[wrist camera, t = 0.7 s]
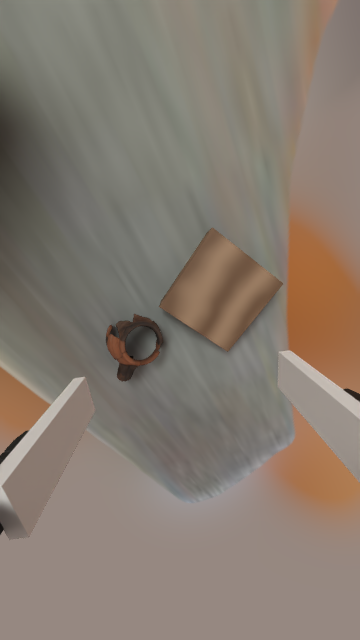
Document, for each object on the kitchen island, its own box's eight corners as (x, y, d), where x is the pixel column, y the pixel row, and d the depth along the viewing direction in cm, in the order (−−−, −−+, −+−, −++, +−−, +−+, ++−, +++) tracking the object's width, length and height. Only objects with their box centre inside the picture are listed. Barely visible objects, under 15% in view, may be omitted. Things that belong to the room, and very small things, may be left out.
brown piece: (106, 308, 35) (117, 312, 28) (153, 314, 40) (173, 320, 33) (97, 372, 36) (105, 392, 29) (144, 371, 41) (161, 387, 34)
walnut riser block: (161, 301, 35) (159, 306, 31) (206, 233, 32) (212, 227, 28) (220, 340, 38) (227, 351, 33) (268, 280, 35) (283, 283, 30)
